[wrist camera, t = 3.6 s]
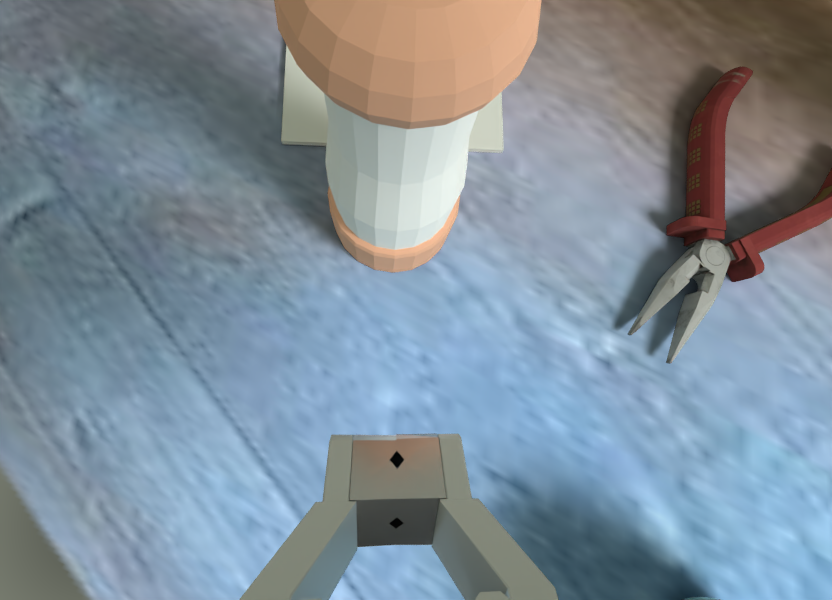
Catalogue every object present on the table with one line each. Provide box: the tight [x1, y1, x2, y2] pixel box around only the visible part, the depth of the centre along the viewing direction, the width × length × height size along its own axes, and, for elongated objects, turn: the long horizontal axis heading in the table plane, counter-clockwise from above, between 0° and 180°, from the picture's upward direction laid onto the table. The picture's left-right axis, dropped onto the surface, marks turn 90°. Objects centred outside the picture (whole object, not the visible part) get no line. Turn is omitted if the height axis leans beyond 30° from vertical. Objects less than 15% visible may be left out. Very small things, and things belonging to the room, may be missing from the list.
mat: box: [281, 45, 503, 153], centre depth 30 cm, size 20×14×1 cm
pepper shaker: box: [274, 0, 541, 272], centre depth 19 cm, size 7×7×19 cm
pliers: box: [628, 67, 832, 363], centre depth 29 cm, size 12×20×3 cm, turn 143°
